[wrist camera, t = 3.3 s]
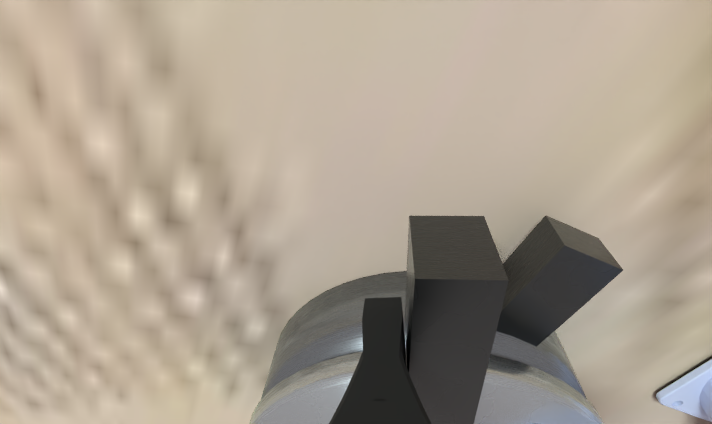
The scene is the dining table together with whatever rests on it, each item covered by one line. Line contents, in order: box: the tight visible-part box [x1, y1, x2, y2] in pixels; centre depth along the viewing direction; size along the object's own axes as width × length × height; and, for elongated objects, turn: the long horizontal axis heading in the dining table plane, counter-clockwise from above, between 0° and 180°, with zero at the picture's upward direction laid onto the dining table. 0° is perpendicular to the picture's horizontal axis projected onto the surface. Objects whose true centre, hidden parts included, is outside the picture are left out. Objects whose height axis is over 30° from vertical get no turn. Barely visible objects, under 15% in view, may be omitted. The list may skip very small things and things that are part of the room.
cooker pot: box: [261, 216, 623, 399], centre depth 19 cm, size 20×16×4 cm
